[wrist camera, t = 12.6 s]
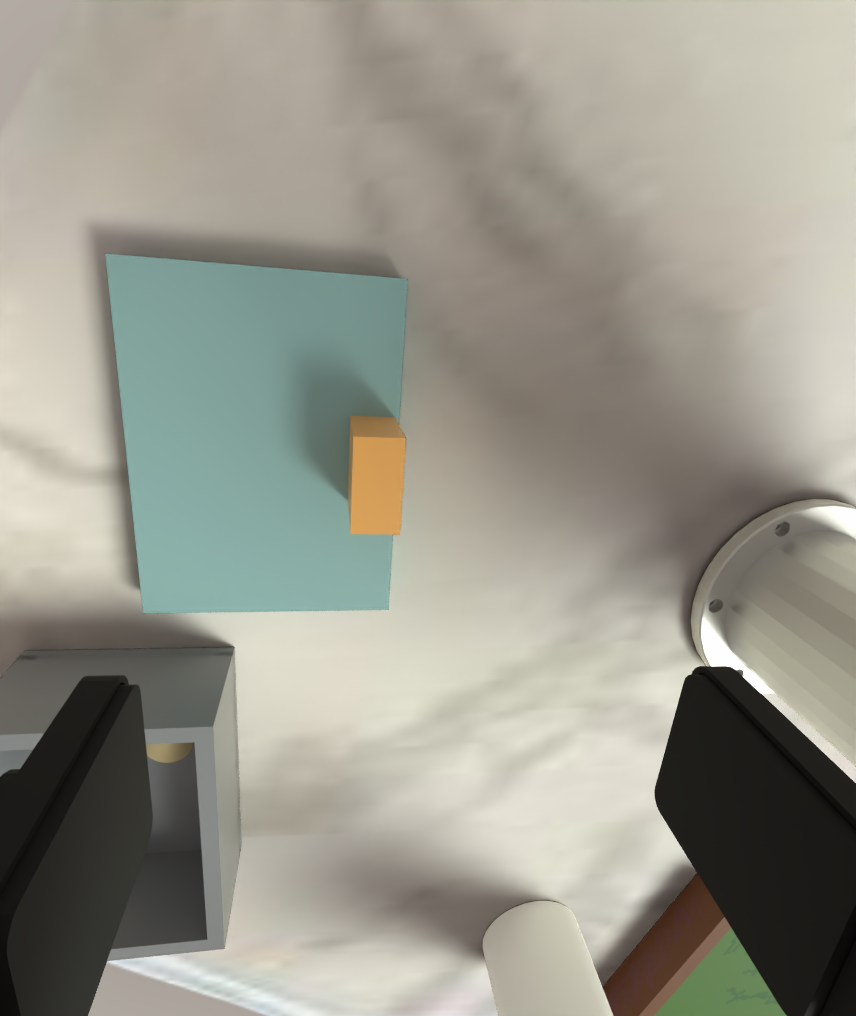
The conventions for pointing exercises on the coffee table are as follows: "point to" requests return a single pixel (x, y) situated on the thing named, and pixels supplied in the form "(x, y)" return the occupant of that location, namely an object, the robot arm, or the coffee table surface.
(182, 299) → the lid
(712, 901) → the hardcover book
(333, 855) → the coffee table surface
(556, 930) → the cylindrical container
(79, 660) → the tub
